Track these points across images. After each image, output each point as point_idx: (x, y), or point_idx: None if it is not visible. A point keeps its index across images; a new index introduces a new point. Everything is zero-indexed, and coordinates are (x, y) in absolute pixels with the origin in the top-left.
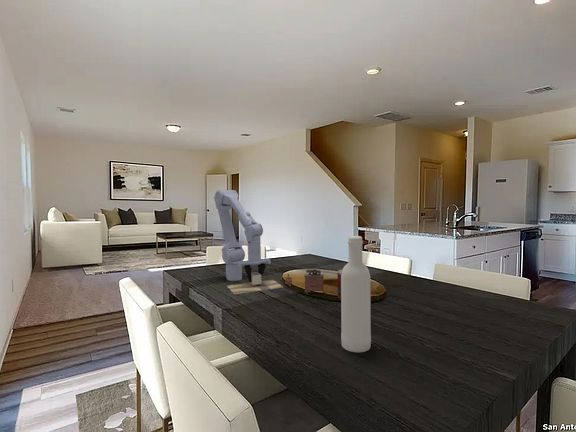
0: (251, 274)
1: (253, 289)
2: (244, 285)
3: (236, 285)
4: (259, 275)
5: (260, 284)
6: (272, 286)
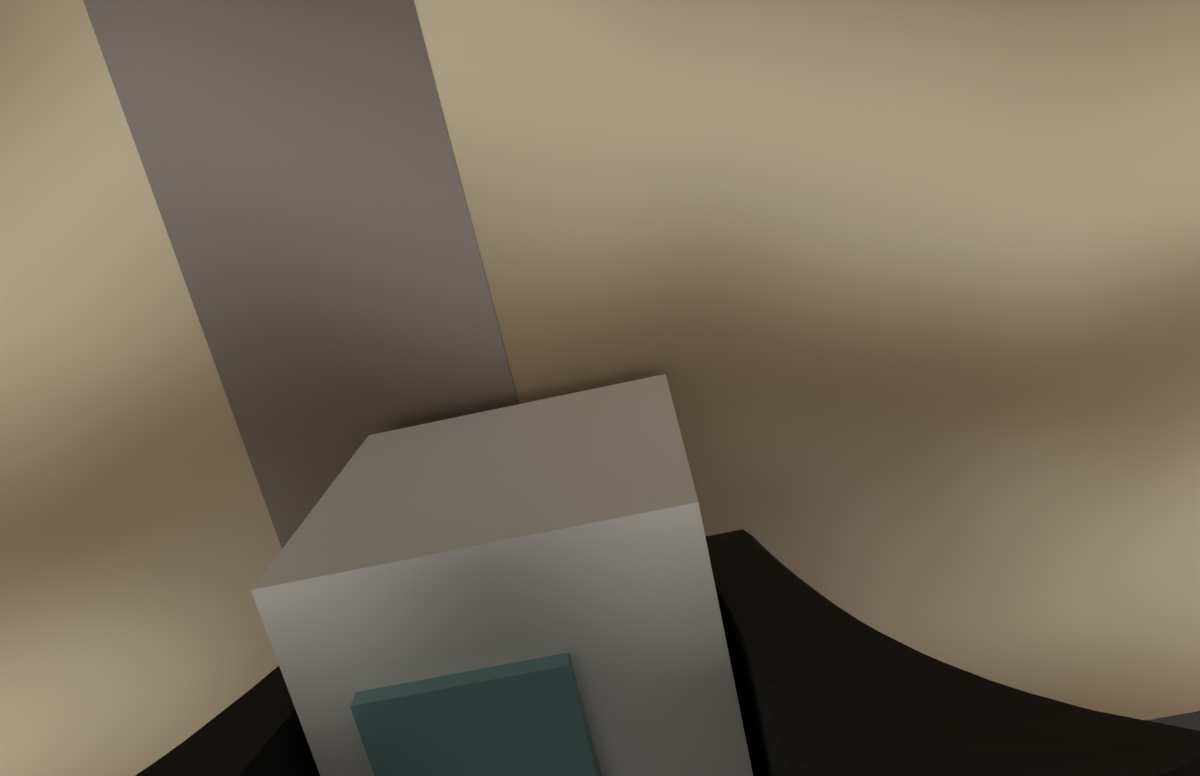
0: (715, 769)
1: (666, 67)
2: (885, 572)
3: (1109, 621)
4: (345, 565)
5: None
6: (35, 261)
